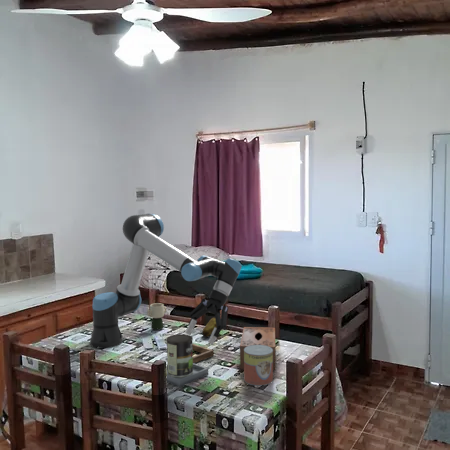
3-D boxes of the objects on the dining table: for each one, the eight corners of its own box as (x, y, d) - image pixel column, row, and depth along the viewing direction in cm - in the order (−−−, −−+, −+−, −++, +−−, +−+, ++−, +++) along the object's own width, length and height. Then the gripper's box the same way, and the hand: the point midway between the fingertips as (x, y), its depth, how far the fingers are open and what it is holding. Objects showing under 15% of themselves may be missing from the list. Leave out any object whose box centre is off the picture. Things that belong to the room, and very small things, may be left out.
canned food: (252, 388, 176) (251, 356, 175) (239, 376, 187) (238, 347, 186) (278, 382, 181) (278, 352, 180) (264, 372, 191) (264, 343, 190)
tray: (152, 376, 188) (152, 370, 188) (181, 364, 200) (181, 358, 199) (179, 387, 178) (179, 380, 177) (208, 374, 189) (208, 368, 189)
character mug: (163, 325, 255) (162, 301, 254) (169, 328, 249) (169, 304, 248) (144, 329, 249) (144, 305, 248) (151, 332, 243) (150, 307, 242)
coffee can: (196, 368, 193) (195, 334, 192) (188, 378, 183) (188, 343, 181) (172, 366, 195) (171, 333, 194) (163, 376, 185) (162, 341, 184)
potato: (196, 335, 238) (196, 319, 238) (216, 330, 246) (216, 315, 246) (206, 339, 232) (205, 323, 231) (226, 334, 240) (226, 318, 239)
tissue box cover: (243, 347, 220) (243, 327, 219) (275, 348, 219) (275, 327, 218) (240, 369, 194) (239, 346, 194) (275, 370, 193) (275, 346, 192)
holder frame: (167, 356, 209) (167, 351, 209) (191, 348, 219) (191, 343, 219) (190, 365, 199) (190, 359, 199) (213, 355, 210) (213, 350, 210)
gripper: (246, 303, 198) (225, 350, 192) (205, 290, 215) (184, 333, 209) (237, 296, 193) (215, 344, 187) (195, 283, 210) (173, 327, 204)
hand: (198, 338), depth 198 cm, fingers open, 13 cm apart
